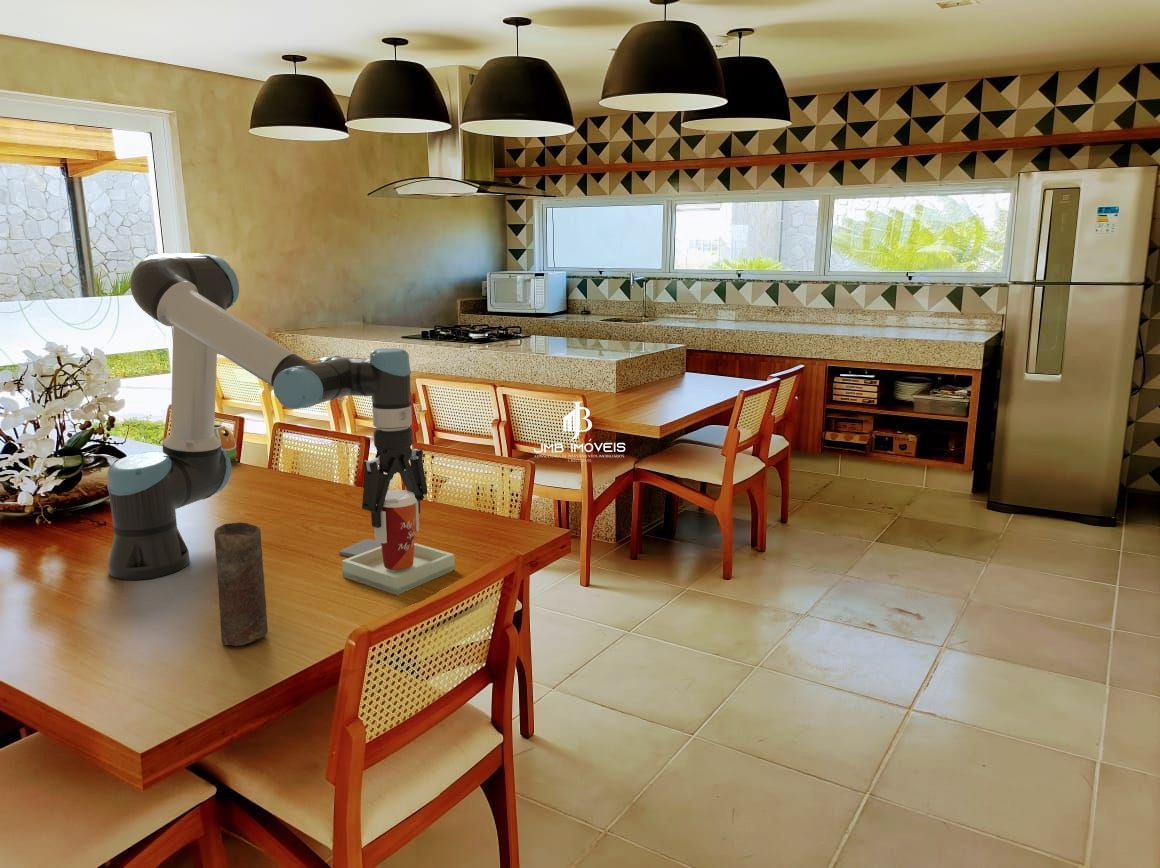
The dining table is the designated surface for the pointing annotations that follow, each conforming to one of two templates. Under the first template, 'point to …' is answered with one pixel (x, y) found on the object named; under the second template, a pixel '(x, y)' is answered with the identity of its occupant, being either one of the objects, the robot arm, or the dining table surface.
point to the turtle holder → (226, 441)
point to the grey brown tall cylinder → (240, 583)
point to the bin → (374, 573)
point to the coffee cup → (399, 529)
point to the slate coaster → (360, 547)
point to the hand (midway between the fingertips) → (397, 535)
